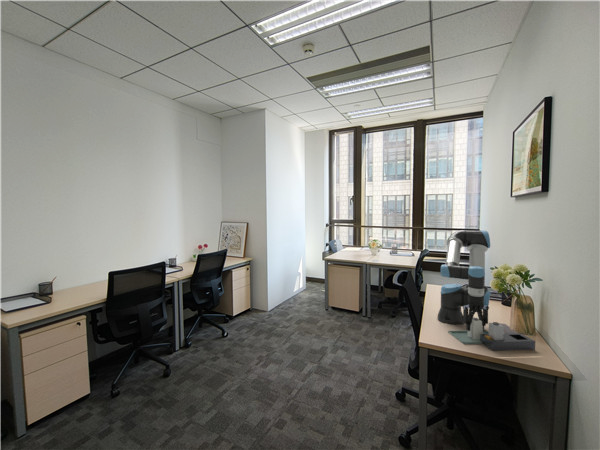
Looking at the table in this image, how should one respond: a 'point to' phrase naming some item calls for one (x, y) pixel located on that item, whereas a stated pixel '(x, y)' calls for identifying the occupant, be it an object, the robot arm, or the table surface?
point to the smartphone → (507, 329)
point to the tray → (466, 337)
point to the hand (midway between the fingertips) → (475, 336)
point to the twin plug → (496, 331)
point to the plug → (476, 328)
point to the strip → (508, 342)
